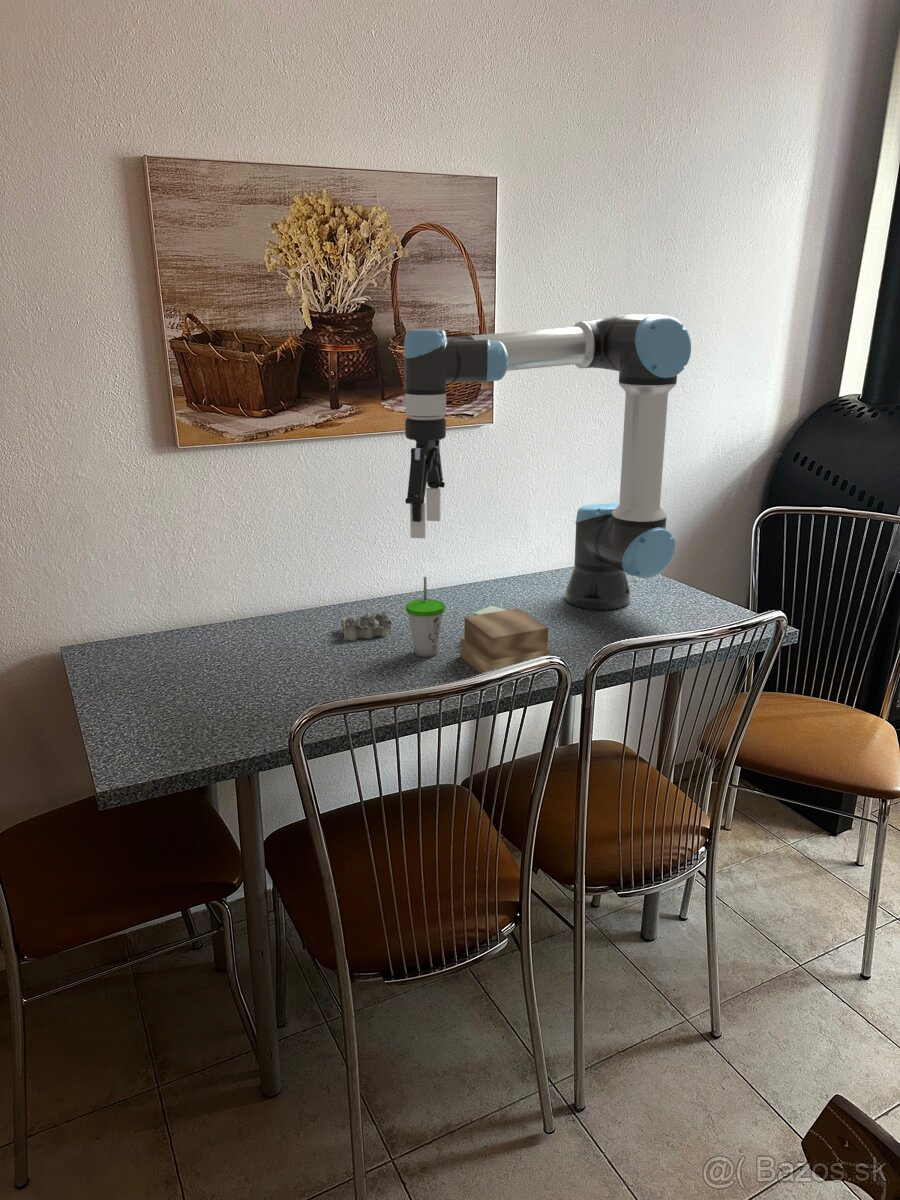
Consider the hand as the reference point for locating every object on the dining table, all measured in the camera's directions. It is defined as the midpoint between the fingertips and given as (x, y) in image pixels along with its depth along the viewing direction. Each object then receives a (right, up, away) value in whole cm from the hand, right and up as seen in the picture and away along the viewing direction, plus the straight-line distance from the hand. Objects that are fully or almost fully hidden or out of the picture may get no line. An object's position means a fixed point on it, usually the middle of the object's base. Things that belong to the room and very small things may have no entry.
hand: (426, 529), depth 166 cm
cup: (0, -25, +9) cm, 26 cm away
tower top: (+15, -22, +3) cm, 27 cm away
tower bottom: (+15, -26, +5) cm, 31 cm away
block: (+14, -22, +16) cm, 31 cm away
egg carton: (-13, -21, +20) cm, 32 cm away
